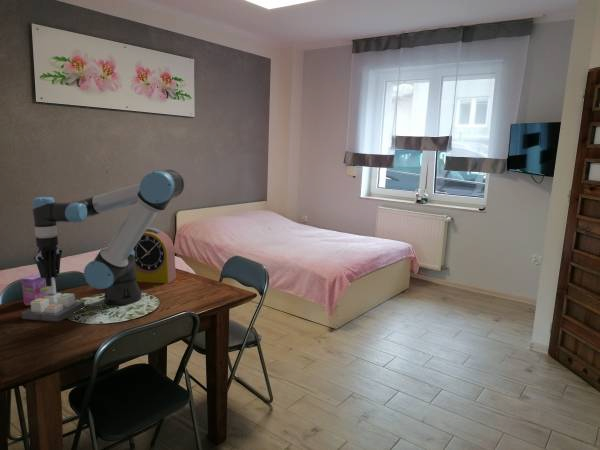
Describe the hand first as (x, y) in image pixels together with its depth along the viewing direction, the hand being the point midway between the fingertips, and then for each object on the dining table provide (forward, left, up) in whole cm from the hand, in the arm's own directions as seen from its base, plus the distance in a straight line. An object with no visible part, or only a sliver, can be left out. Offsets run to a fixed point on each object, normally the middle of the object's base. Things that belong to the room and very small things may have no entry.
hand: (52, 292), depth 175 cm
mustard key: (0, +7, -5) cm, 8 cm away
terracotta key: (-6, +7, -7) cm, 11 cm away
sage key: (-6, 0, -5) cm, 8 cm away
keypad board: (-3, +3, -7) cm, 8 cm away
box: (+13, -7, -7) cm, 16 cm away
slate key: (0, 0, -5) cm, 5 cm away
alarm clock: (-19, -45, -7) cm, 49 cm away
